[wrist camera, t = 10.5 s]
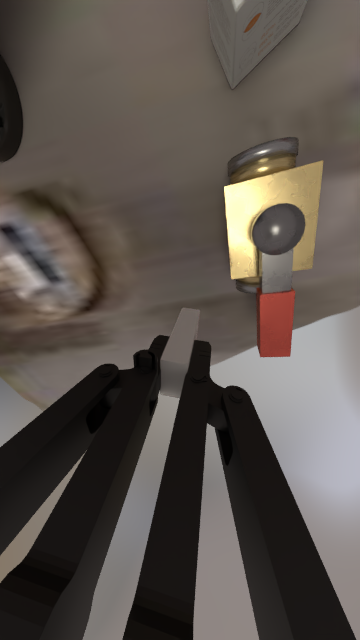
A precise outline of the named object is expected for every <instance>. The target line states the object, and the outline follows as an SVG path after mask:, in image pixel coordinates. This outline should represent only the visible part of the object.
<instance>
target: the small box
mask: <svg viewBox="0 0 360 640" xmlns="http://www.w3.org/2000/svg"><path fill="white" fill-rule="evenodd" d="M207 1H208V13H209V25H210V36H211V40H212V42H213V45H214V48H215V50H216V53H217V55H218V58H219V60H220V62H221V65H222V67H223V70H224V72H225V75H226V77H227V80H228V82H229V84H230V87H231V89H234V88H235V87H236V86H237V85H238V84H239V83H240V81H241V80H242V79H244V77H245V76H246V75H247V74H248V73H249V72H250V71H251V70H252V69H253V68H254V67H255V66H256V65H257V64H258V63H259V62H260V61H261V60H262V59H263V58H264V57H265V56H266V55H267V54H268V53H269V52H270V51H271V50H272V49H273V48H274V47H275V46H276V45H277V44H278V43H279V42H280V41H281V40H282V39H283V38H284V37H285V36H286V35H287V34H288V33H289V32H290V31H291V30H292V29H293V28H294V27H295V26H296V25H297V24H298V23H299V22H300V19H301V16H302V14H303V11H304V8H305V6H306V3H307V1H308V0H207Z"/></svg>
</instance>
